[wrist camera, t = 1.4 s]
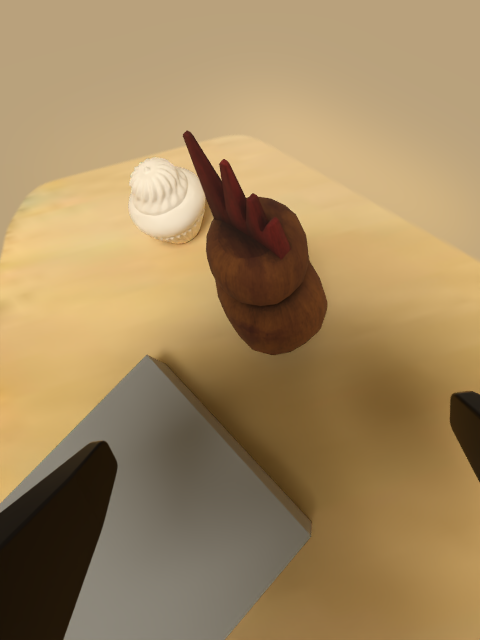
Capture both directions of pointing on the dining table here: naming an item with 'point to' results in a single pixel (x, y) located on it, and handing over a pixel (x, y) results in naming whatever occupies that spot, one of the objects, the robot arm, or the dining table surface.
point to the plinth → (174, 517)
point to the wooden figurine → (259, 262)
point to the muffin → (166, 201)
